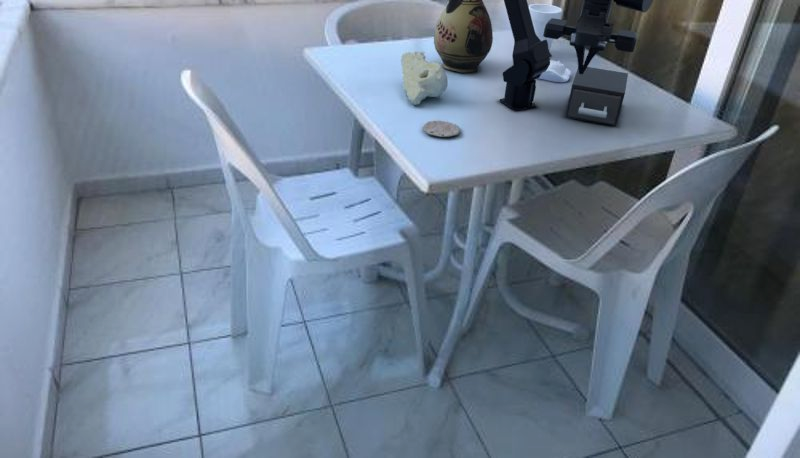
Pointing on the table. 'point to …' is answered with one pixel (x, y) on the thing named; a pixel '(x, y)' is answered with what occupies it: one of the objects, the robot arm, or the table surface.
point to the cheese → (422, 77)
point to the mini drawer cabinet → (600, 86)
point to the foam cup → (543, 18)
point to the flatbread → (441, 128)
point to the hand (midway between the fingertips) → (581, 73)
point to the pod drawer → (594, 106)
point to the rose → (556, 72)
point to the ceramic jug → (463, 35)
